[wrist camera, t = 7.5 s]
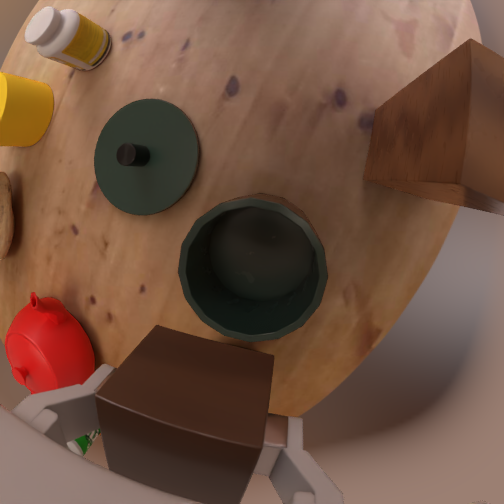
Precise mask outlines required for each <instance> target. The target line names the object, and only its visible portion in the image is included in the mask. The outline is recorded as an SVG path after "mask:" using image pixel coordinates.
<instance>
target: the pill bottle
mask: <svg viewBox="0 0 504 504" xmlns="http://www.w3.org/2000/svg"><path fill="white" fill-rule="evenodd" d="M25 40H26V42H28V43H30V44H32V45H36V47H37V50H38V52H39V54H40V55H42V56H43V57H46V58H49V59H51V60H54V61H57V62H60V63H62V64H65V65H68V66H70V67H73V68H75V69H78V70H82V71H86V70H90V69H92V68H94V67H96V66H97V65H98V64H100V63H101V62H102V61H103V59H104V58H105V57H106V55H107V54H108V52H109V49H110V46H111V37H110V35H109V33H108V32H107V31H106V30H104V29H103V28H101V27H100V26H98V25H97V24H95V23H94V22H92V21H91V20H89V19H87V18H86V17H84V16H83V15H81V14H79V13H78V12H76V11H74V10H71V9H65V10H61V11H58V10H57V9H55V8H53V7H50V6H48V7H45V8H43V9H41V10H40V11H39V12H37V13H36V14H35V15H34V17H33V18H32V19H31V21H30V22H29V24H28V26H27V28H26V31H25Z"/></svg>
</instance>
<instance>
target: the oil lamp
mask: <svg viewBox="0 0 504 504" xmlns="http://www.w3.org/2000/svg"><path fill="white" fill-rule="evenodd" d="M13 234H14V214H13V211H12V199H11V185H10V181H9V178H8V176H7V175H6V173H5V172H0V261H1V260H2V259H4V257H5V256H6V254H7V253H8V250H9V248H10V245H11V242H12V237H13Z"/></svg>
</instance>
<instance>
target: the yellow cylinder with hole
mask: <svg viewBox="0 0 504 504" xmlns="http://www.w3.org/2000/svg"><path fill="white" fill-rule="evenodd" d="M53 107H54V98H53V93H52V90H51V88H50V87H49V86H48V85H47V84H45V83H42V82H38V81H35V80H31V79H27V78H23V77H19V76H15V75H11V74H7V73H3V72H0V146H22V147H28V146H32V145H34V144H35V143H37V142H38V141H39V140H40V139H41V137H42V136H43V135H44V133H45V132H46V130H47V128H48V126H49V123H50V121H51V117H52V113H53Z"/></svg>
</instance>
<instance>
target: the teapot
mask: <svg viewBox="0 0 504 504" xmlns="http://www.w3.org/2000/svg"><path fill="white" fill-rule="evenodd" d="M30 301H31V302H30V303H29V304H28V305H26V306H25V307H24V308H23V309H22V310H21V311H19V313H18V314H17V315H16V317H15V318H14V320H13V322H12V324H11V326H10V328H9V330H8V332H7V335H6V339H5V349H6V354H7V357H8V360H9V362H10V364H11V367H12V374H13V376H14V378H15V379H16V380H17V381H18V382H19V383H20V384H21V385H25V386H26V387H27V388H28V389H29V390H30V391H31V395H32V394H37V393H41V392H46V391H51V390H55V389H59V388H64V387H68V386H72V385H76V384H80V385H83V384H84V383H85V381H86V380H87V379H88V378H89V377H90V376H91V375H92V374H93V373H94V372H95V356H94V352H93V349H92V346H91V343H90V340H89V337H88V336H87V334H86V333H85V331H84V330H83V328H82V326H81V325H80V323H79V322H78V321H77V320H76V319H75V318H74V317H73V316H72V315H71V314H70V313H69V312H68V311H67V310H66V309H65V307H64V306H63V304H62V303H61V301H59V300H57V299H54V298H52V297H45V298H42V299H39V298H38V297H37V296H36V294H35V292H32V293H31V297H30Z"/></svg>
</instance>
